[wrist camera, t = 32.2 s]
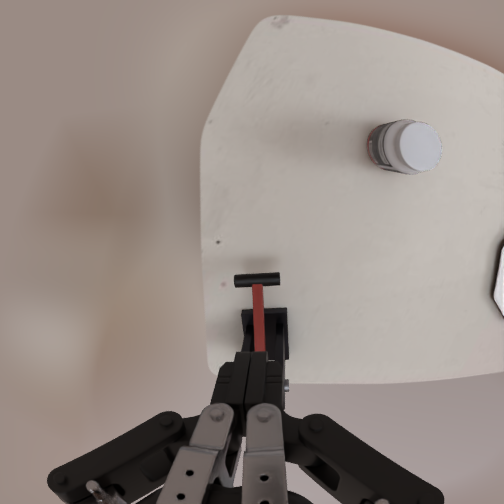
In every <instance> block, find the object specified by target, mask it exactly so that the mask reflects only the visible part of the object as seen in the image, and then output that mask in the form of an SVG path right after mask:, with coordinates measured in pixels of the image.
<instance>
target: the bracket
mask: <svg viewBox="0 0 504 504" xmlns="http://www.w3.org/2000/svg"><path fill="white" fill-rule="evenodd" d="M241 317H242V324H243V332H244V340H243V345H242V350H241V352H254V351H255V344H254V319H253V309H250V310H242V313H241ZM264 324H265V349H266V351H267V352H268V360H275V361H279V363H280V365H281V366H282V369H283V388H284V396H283V410H284V409H285V392H288V391H289V379H286V380H285V360H289V345H288V324H287V308H272V309H264Z"/></svg>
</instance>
